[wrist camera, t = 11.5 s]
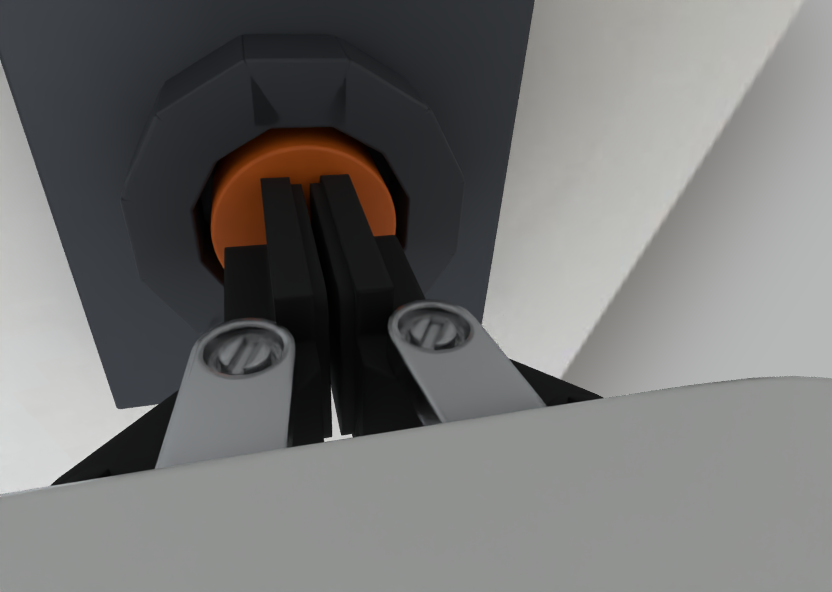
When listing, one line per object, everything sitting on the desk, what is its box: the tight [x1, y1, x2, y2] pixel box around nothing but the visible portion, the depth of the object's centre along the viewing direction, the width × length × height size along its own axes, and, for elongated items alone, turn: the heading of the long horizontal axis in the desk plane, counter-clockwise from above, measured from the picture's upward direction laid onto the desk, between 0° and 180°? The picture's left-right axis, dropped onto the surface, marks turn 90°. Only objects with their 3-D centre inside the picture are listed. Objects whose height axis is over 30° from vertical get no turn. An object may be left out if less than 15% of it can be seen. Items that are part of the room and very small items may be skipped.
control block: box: [0, 0, 535, 409], centre depth 13 cm, size 12×10×4 cm
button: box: [211, 127, 396, 268], centre depth 12 cm, size 4×4×2 cm
